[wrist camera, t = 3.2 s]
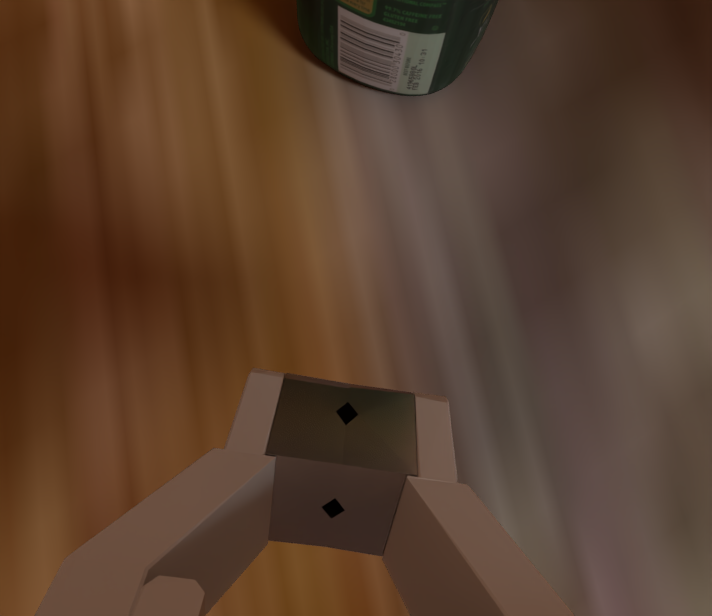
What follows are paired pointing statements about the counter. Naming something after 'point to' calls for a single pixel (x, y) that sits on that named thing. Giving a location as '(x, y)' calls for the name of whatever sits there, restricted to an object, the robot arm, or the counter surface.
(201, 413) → the counter surface
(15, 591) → the counter surface
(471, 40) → the coffee jar
